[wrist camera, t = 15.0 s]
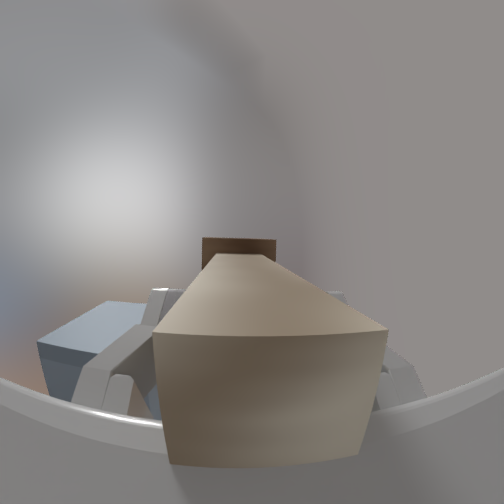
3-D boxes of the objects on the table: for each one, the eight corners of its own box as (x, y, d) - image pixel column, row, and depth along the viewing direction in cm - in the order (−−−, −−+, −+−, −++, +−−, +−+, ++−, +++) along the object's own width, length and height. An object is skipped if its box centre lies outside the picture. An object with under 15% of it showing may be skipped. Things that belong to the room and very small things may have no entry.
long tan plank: (119, 478, 3) (77, 245, 3) (207, 283, 24) (208, 237, 24) (395, 466, 4) (448, 256, 3) (265, 285, 24) (266, 239, 24)
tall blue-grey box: (105, 516, 18) (36, 340, 17) (132, 449, 34) (107, 300, 33) (181, 532, 19) (143, 359, 18) (191, 456, 35) (180, 305, 34)
